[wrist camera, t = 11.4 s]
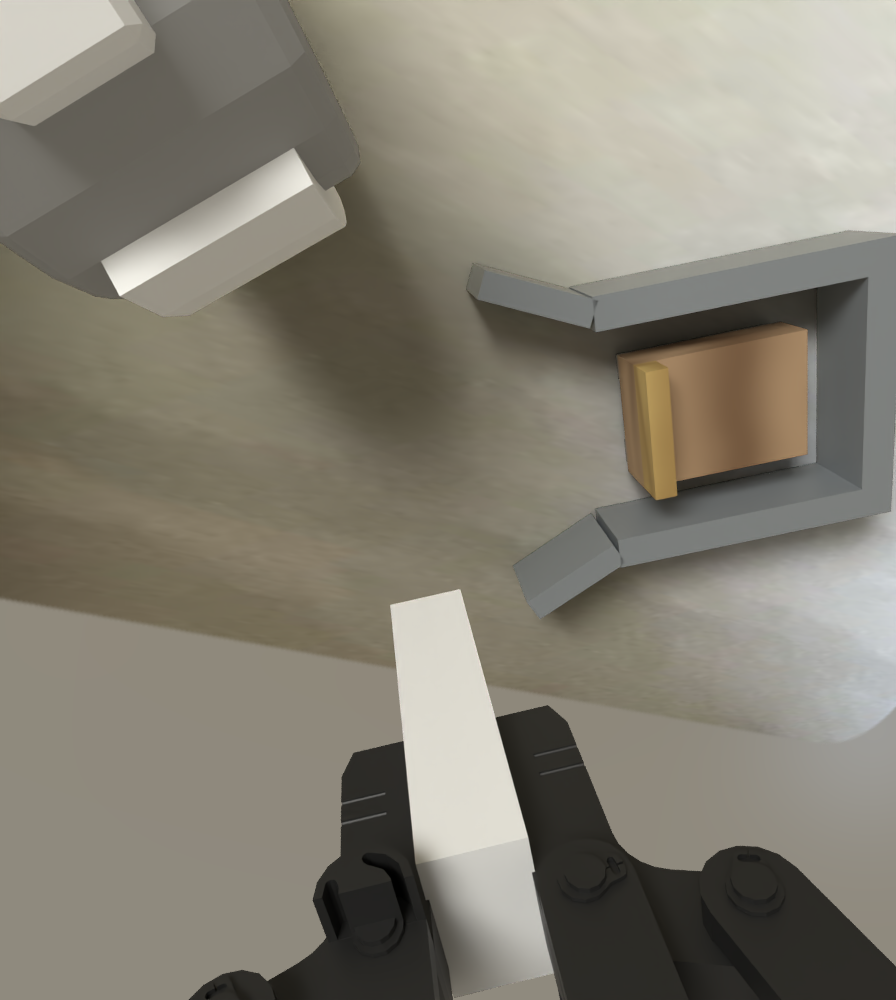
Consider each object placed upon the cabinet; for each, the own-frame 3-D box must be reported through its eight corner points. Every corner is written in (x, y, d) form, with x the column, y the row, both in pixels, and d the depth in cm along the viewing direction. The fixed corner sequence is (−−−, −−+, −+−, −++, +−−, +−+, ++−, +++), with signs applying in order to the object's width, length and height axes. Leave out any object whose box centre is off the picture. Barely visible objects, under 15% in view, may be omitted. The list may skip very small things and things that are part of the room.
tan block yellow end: (622, 464, 39) (656, 500, 34) (611, 351, 37) (645, 372, 32) (772, 433, 39) (825, 465, 34) (770, 318, 37) (827, 335, 32)
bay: (515, 583, 41) (530, 621, 37) (462, 264, 34) (472, 272, 31) (842, 514, 41) (889, 546, 37) (849, 187, 35) (906, 185, 31)
